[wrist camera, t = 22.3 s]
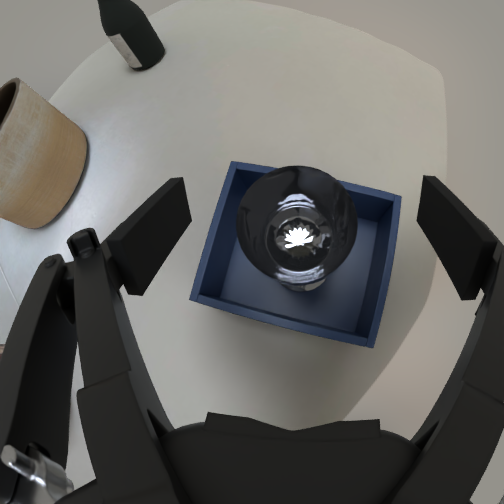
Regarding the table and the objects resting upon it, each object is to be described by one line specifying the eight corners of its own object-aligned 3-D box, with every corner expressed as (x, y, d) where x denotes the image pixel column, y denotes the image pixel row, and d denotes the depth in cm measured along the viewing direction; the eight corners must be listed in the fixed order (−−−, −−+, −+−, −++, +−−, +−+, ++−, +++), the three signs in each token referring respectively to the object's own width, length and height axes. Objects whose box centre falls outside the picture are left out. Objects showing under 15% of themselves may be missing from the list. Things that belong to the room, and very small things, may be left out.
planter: (42, 136, 50) (-14, 96, 30) (106, 121, 45) (41, 58, 26) (12, 227, 46) (-58, 201, 26) (69, 235, 41) (-25, 197, 22)
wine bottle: (136, 77, 46) (57, -25, 17) (128, 62, 48) (59, -30, 19) (170, 56, 46) (104, -55, 17) (160, 42, 48) (100, -55, 19)
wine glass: (342, 234, 32) (365, 178, 18) (327, 302, 31) (344, 296, 17) (275, 220, 34) (252, 157, 20) (258, 286, 33) (221, 266, 19)
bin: (383, 220, 33) (401, 195, 25) (358, 339, 31) (373, 348, 23) (246, 190, 37) (231, 160, 29) (214, 302, 35) (188, 299, 27)
